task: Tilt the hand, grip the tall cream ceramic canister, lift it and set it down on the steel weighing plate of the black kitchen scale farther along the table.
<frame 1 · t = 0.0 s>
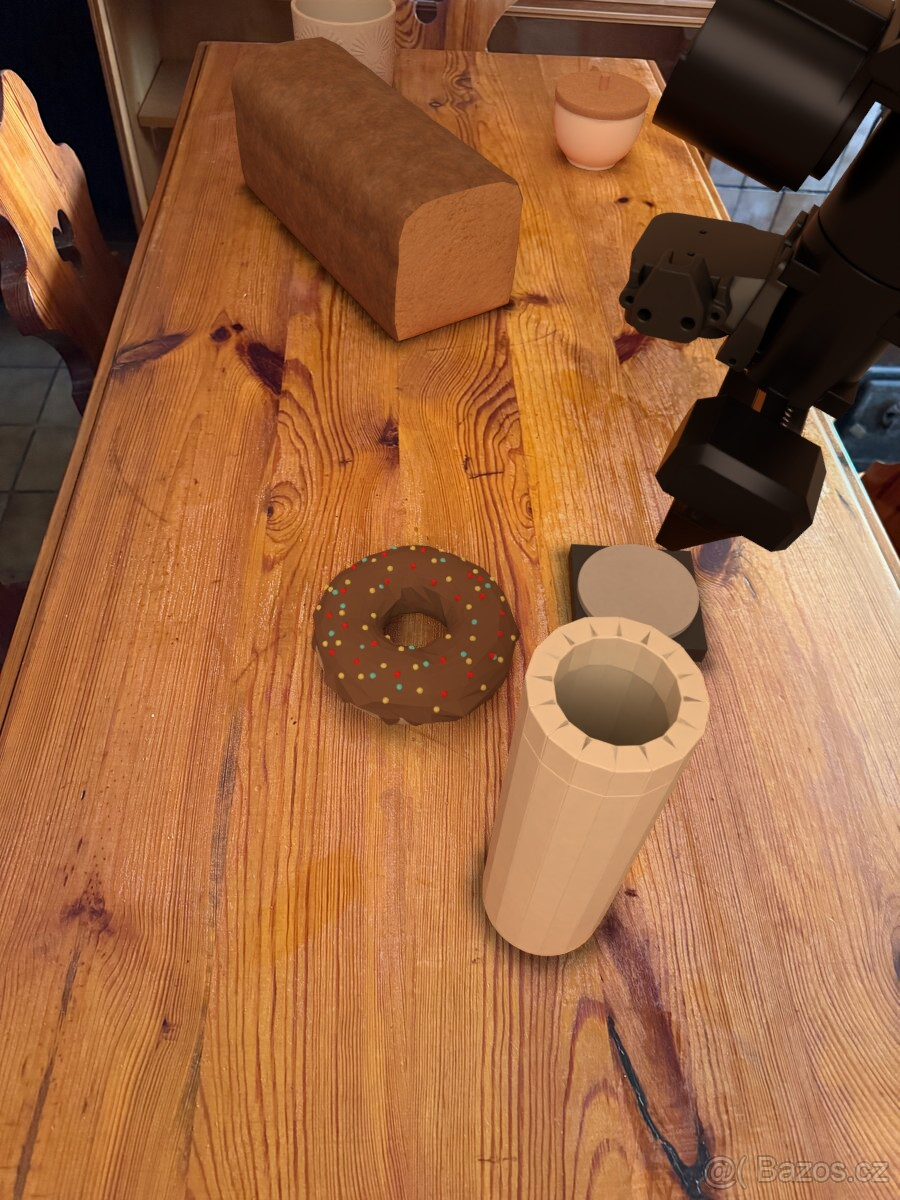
hand: (687, 487, 48), 17 cm above the table, tool pointing down, fingers open, 9 cm apart
canister: (542, 893, 51), on the table
donut: (415, 658, 61), on the table
scale: (632, 607, 65), on the table
planter: (347, 102, 114), on the table
bread: (369, 245, 93), on the table
trinket box: (590, 160, 107), on the table
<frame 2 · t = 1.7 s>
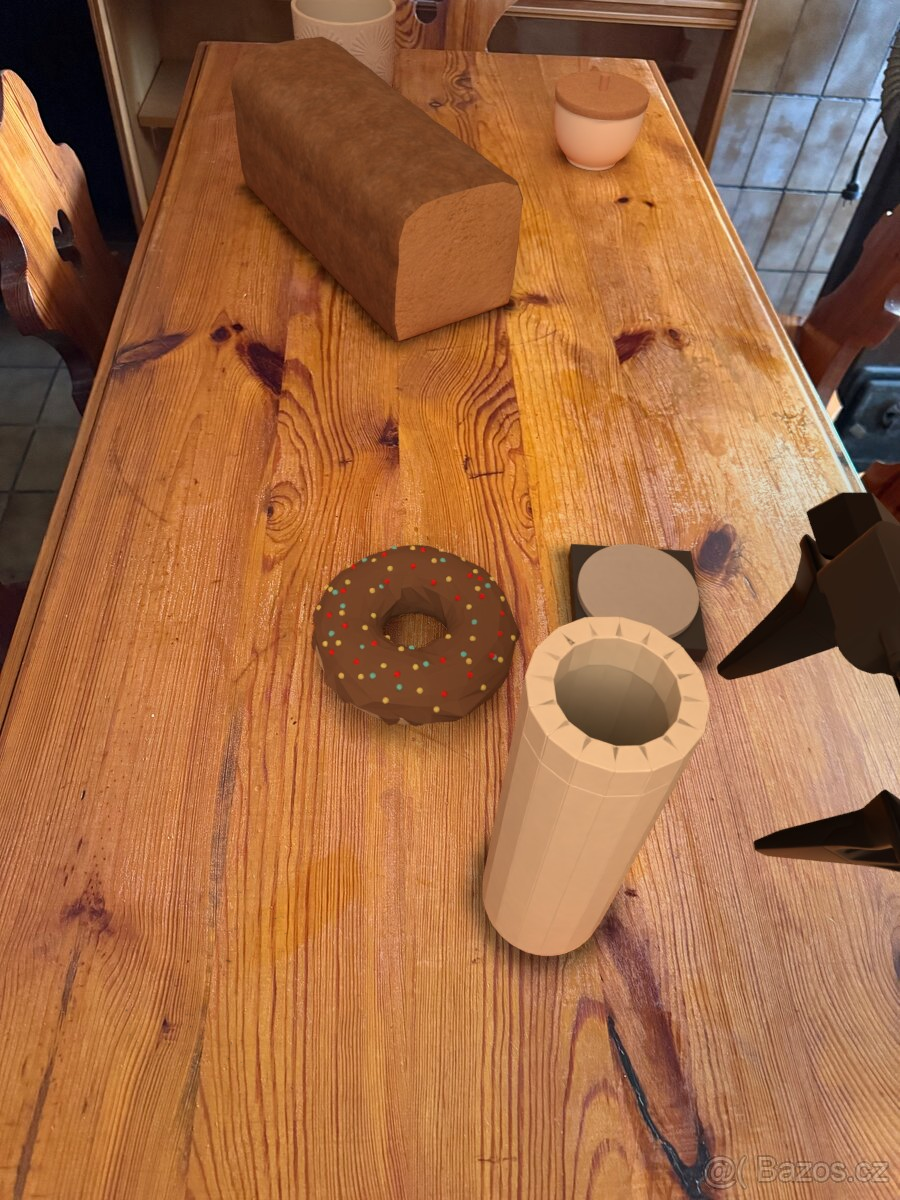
hand: (738, 755, 42), 14 cm above the table, tool tilted 40°, fingers open, 9 cm apart
nothing on the table moved.
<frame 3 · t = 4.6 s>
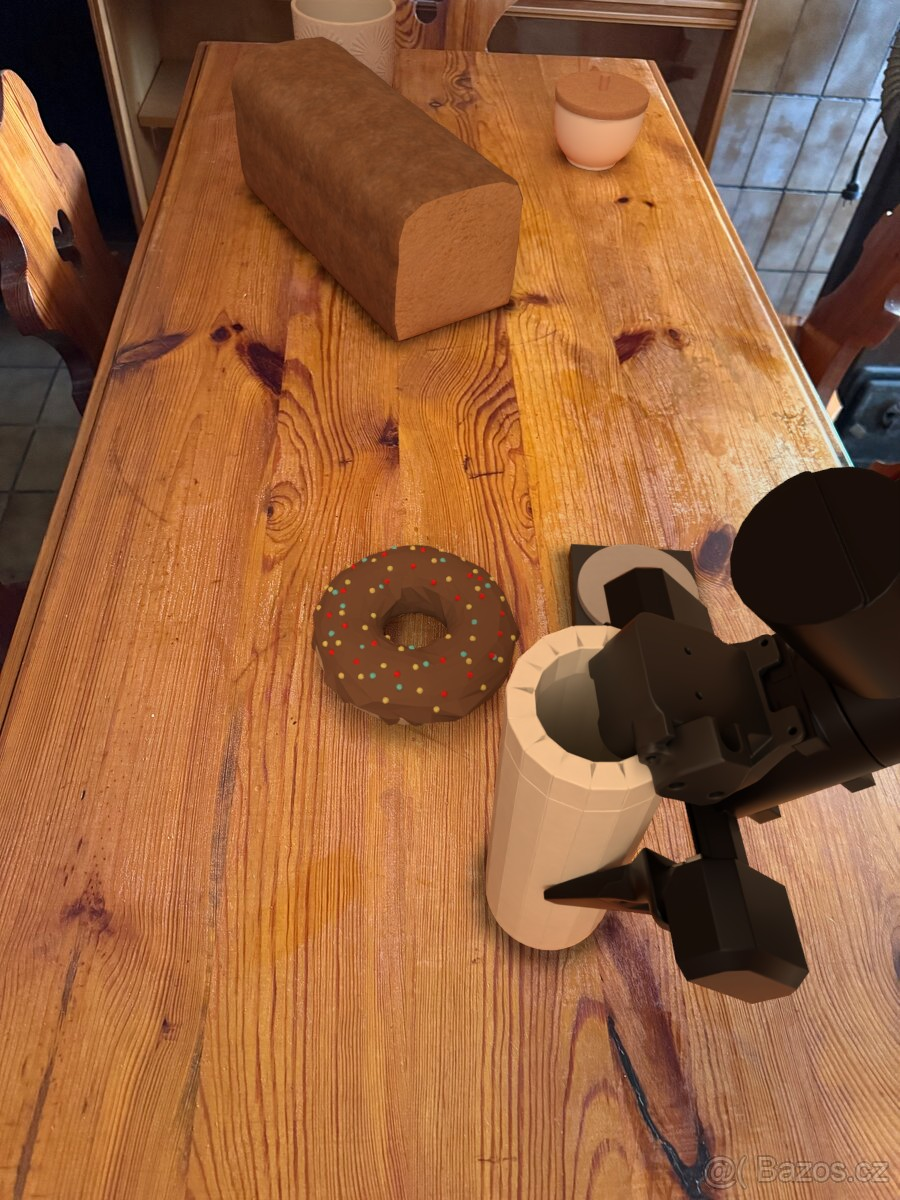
hand: (540, 821, 43), 10 cm above the table, tool tilted 45°, fingers closed on canister, 7 cm apart
canister: (546, 887, 51), on the table, touching gripper
everything else where it was.
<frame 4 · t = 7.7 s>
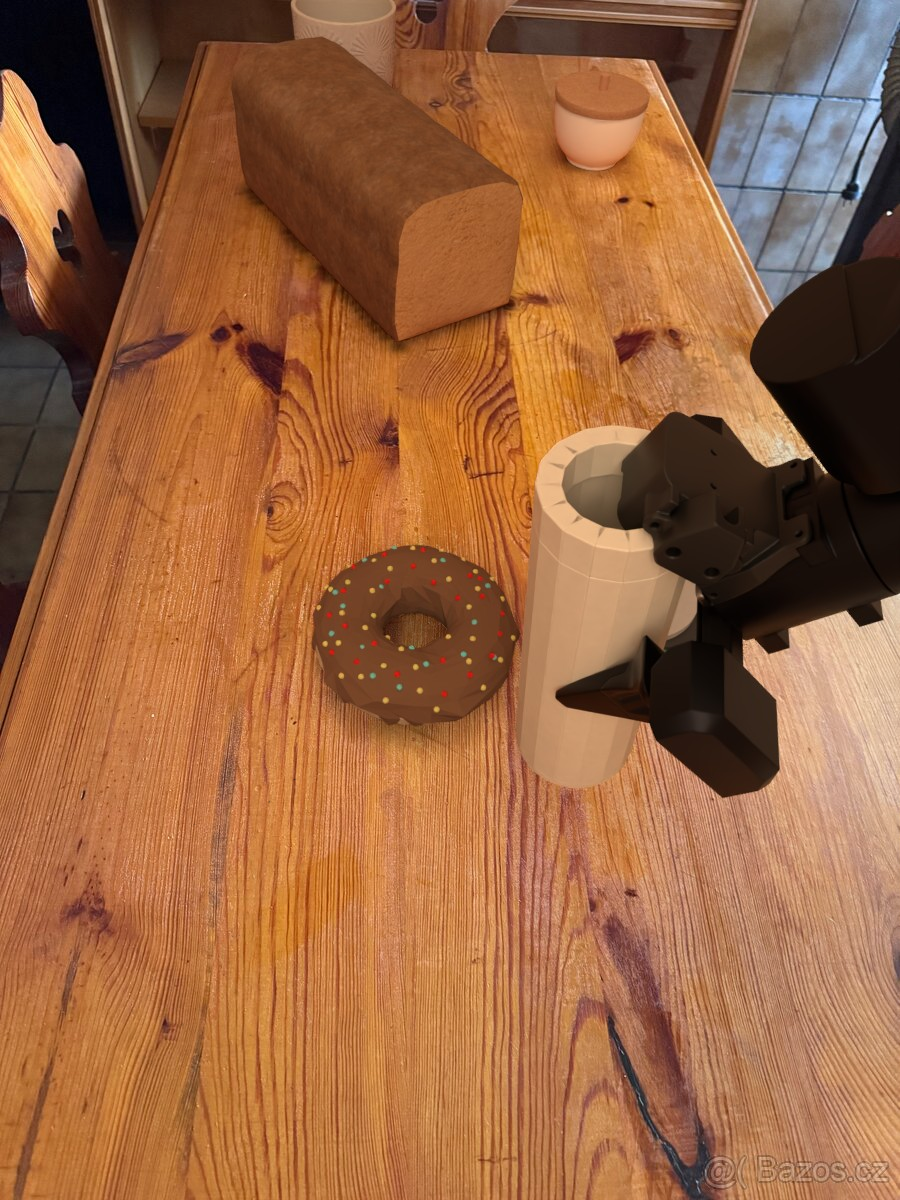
hand: (567, 639, 46), 13 cm above the table, tool tilted 45°, fingers closed on canister, 7 cm apart
canister: (573, 735, 54), point 3 cm above the table, touching gripper
everything else where it was.
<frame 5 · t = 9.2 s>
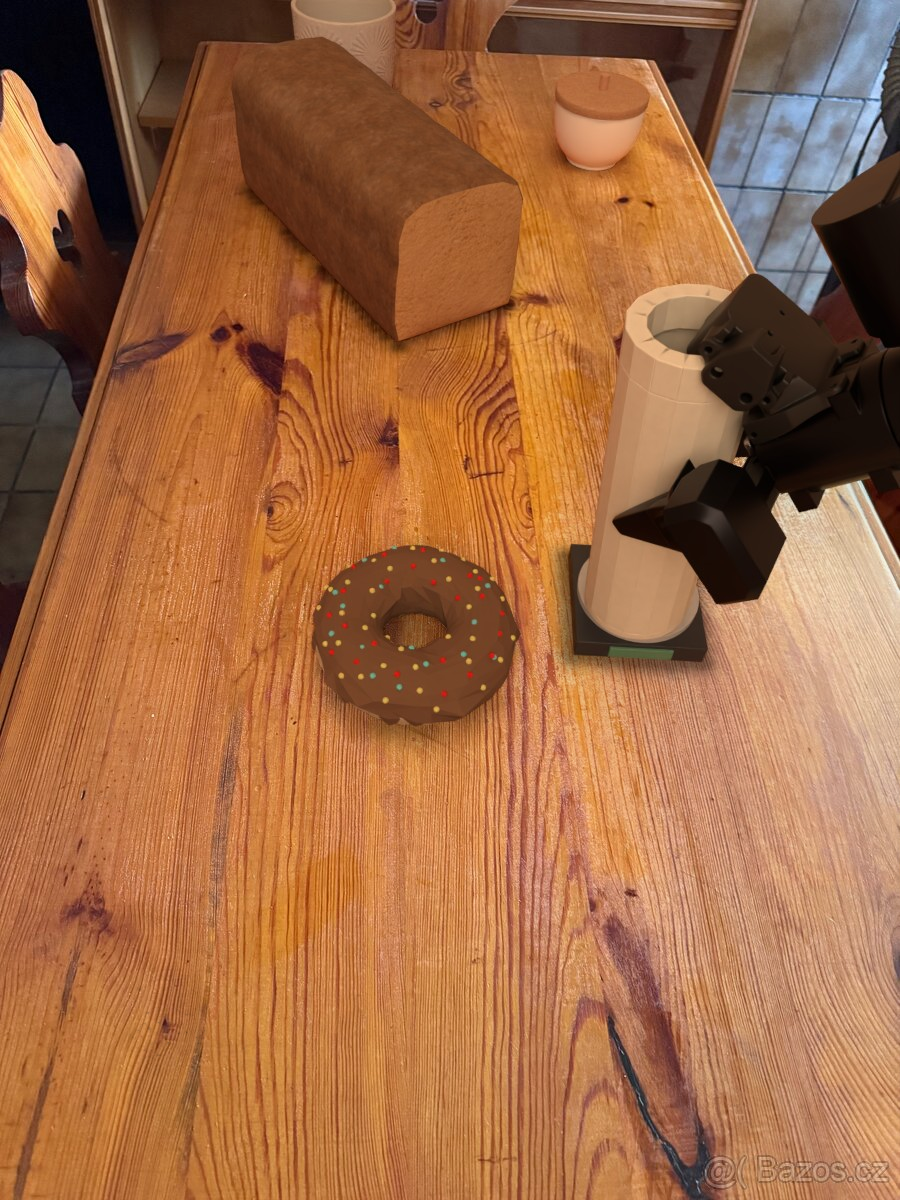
hand: (640, 487, 53), 13 cm above the table, tool tilted 45°, fingers closed on canister, 7 cm apart
canister: (635, 598, 61), point 3 cm above the table, touching gripper
everything else where it was.
when the fingers open (12 cm above the table, at t = 10.7 s): canister stays where it is, resting on scale.
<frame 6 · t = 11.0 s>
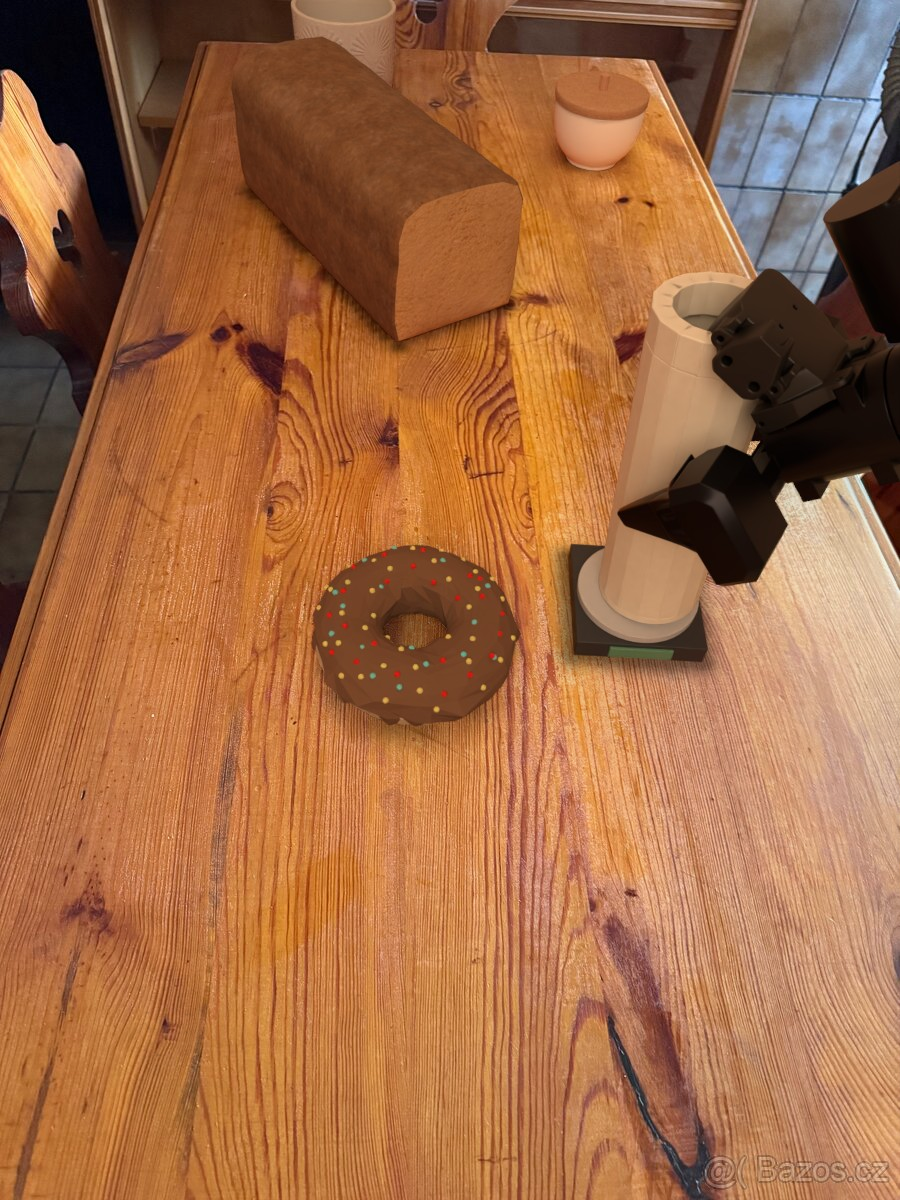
hand: (654, 473, 55), 13 cm above the table, tool tilted 45°, fingers open, 9 cm apart
canister: (648, 586, 63), point 2 cm above the table, touching gripper, scale
everything else where it was.
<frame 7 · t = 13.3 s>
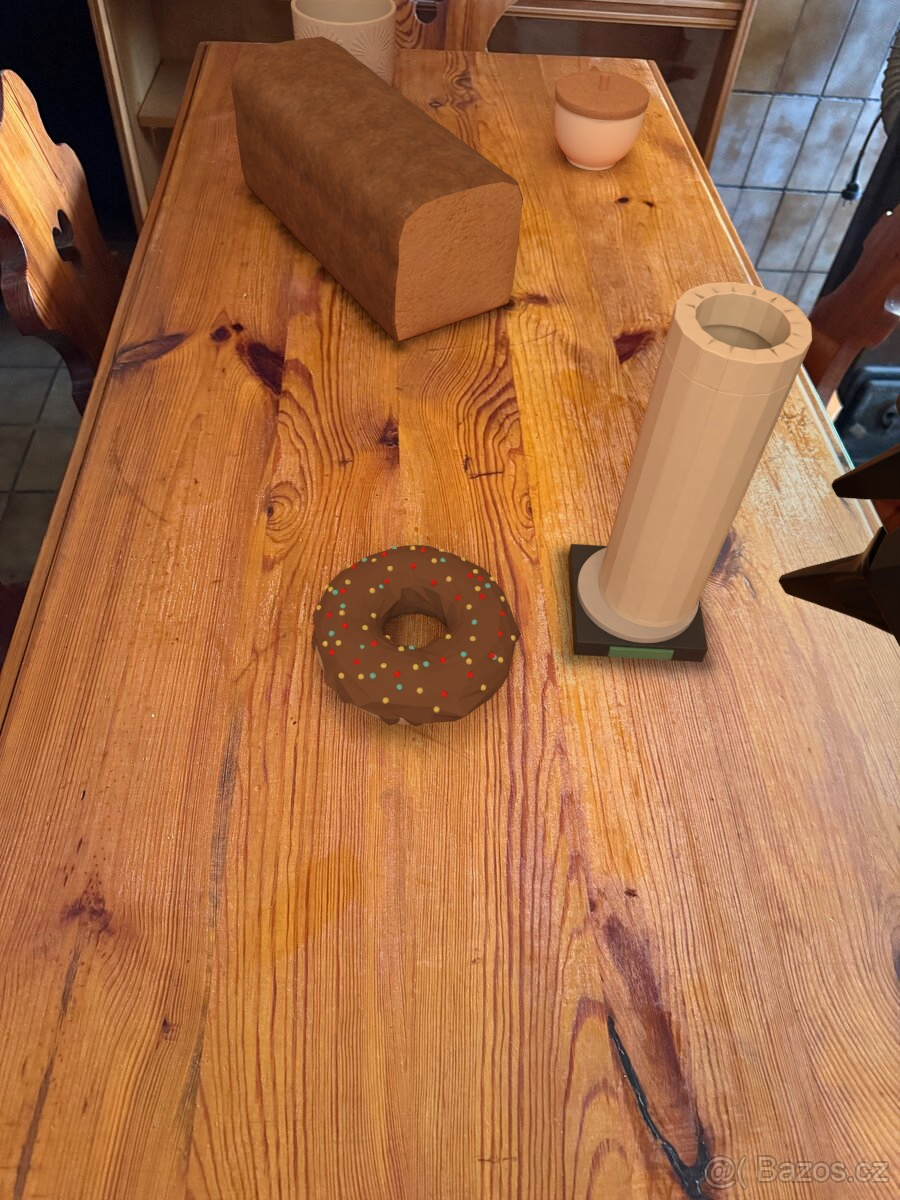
hand: (809, 534, 52), 13 cm above the table, tool tilted 45°, fingers open, 9 cm apart
canister: (647, 588, 63), point 2 cm above the table, touching scale
everything else where it was.
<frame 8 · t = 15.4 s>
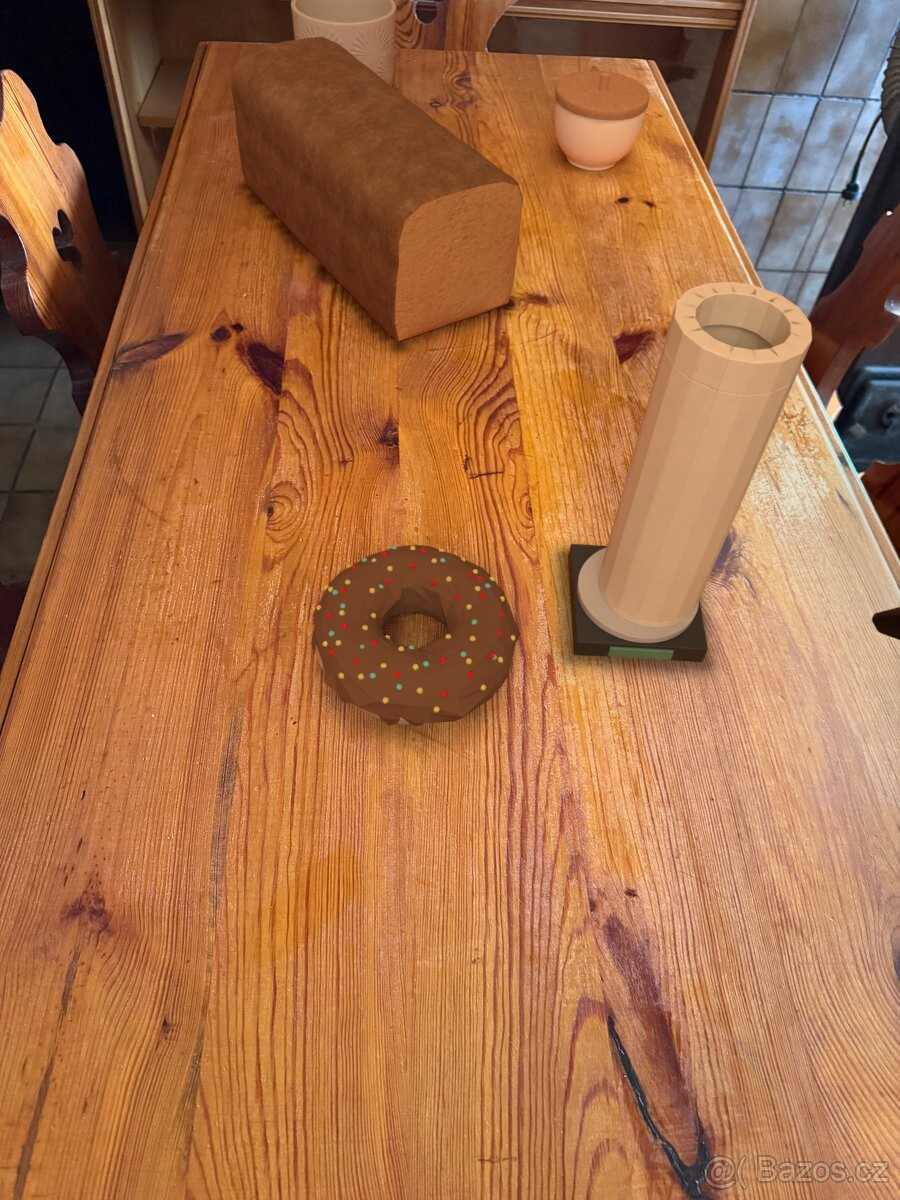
hand: (898, 569, 50), 14 cm above the table, tool tilted 45°, fingers open, 9 cm apart
nothing on the table moved.
at the end: canister 0.7 cm off-centre on the scale, point 2.2 cm above the scale's base; canister tilted 0°; the gripper is holding nothing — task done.
